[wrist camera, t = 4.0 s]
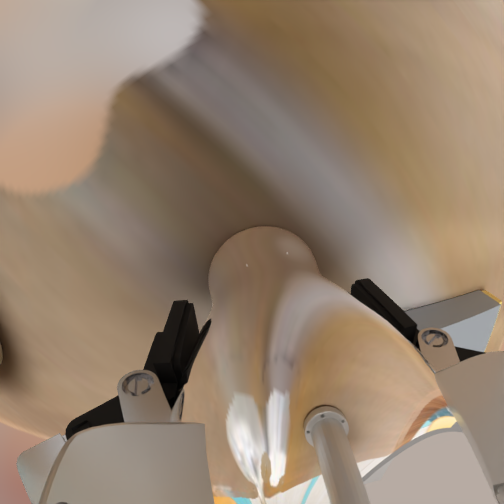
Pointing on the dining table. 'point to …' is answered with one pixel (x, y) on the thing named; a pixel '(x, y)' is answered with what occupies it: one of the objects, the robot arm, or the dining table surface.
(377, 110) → the dining table surface
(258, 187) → the dining table surface
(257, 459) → the beer glass
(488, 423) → the robot arm
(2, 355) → the planter bowl
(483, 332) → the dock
